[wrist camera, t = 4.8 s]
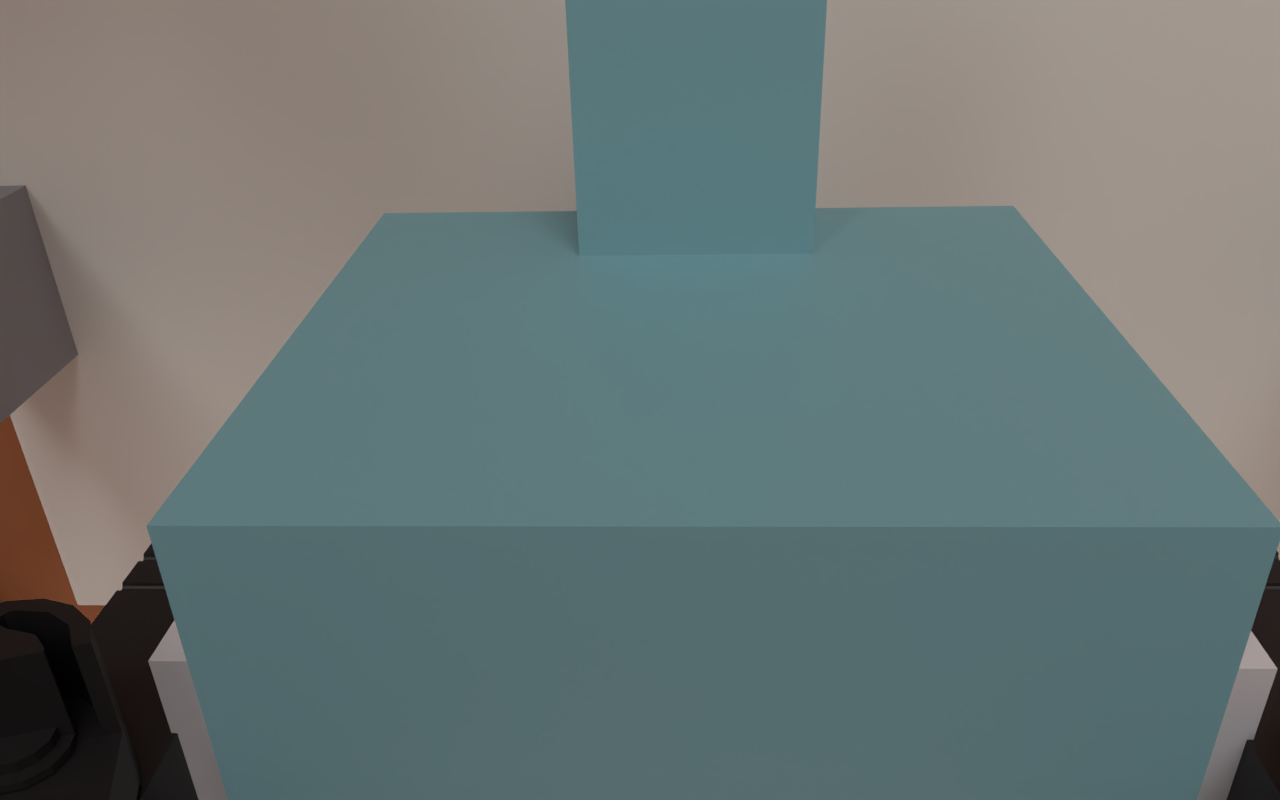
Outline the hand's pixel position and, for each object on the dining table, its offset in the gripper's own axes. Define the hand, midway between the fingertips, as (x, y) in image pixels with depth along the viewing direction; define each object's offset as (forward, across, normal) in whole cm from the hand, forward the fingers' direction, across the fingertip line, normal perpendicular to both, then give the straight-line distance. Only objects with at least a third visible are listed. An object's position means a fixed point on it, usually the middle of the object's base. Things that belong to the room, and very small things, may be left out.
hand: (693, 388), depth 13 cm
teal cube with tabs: (-2, 0, 0) cm, 2 cm away
